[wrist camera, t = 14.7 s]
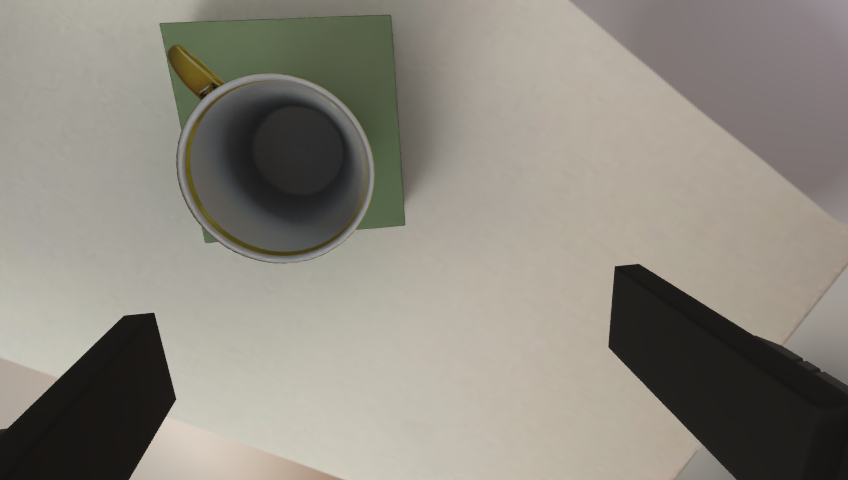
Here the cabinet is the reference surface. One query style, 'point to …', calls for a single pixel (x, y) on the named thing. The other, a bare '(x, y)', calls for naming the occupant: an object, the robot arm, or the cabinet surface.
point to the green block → (312, 79)
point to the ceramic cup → (271, 163)
